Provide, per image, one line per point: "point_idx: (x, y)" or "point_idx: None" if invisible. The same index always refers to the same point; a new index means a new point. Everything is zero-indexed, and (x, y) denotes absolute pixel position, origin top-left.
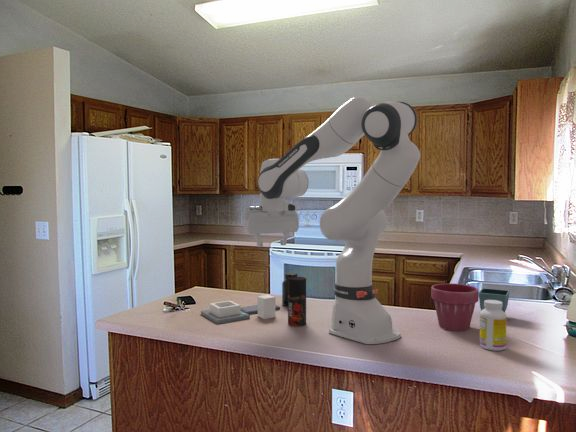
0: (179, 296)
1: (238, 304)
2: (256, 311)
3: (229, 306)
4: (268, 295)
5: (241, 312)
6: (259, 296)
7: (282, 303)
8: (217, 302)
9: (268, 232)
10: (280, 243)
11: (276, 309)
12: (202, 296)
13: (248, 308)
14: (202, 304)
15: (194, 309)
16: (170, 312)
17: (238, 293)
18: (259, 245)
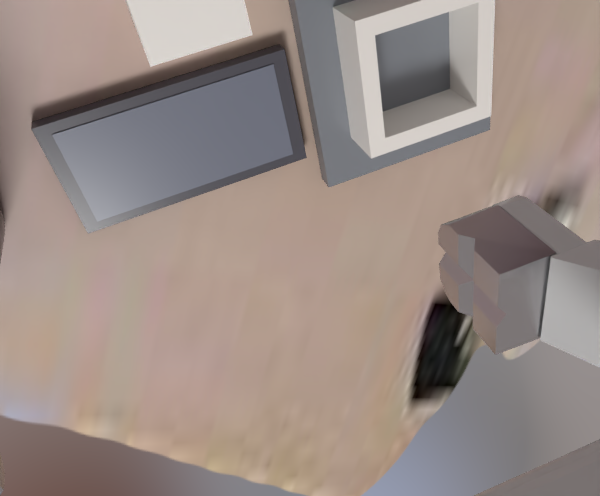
0: (448, 395)
1: (359, 45)
2: (213, 70)
3: (425, 8)
4: (159, 33)
5: (318, 37)
6: (240, 20)
7: (3, 218)
8: (447, 129)
9: (555, 477)
10: (1, 476)
11: (62, 113)
12: (374, 395)
13: (250, 133)
14: (414, 283)
15: (471, 211)
16: (565, 182)
17: (217, 438)
18: (526, 203)
